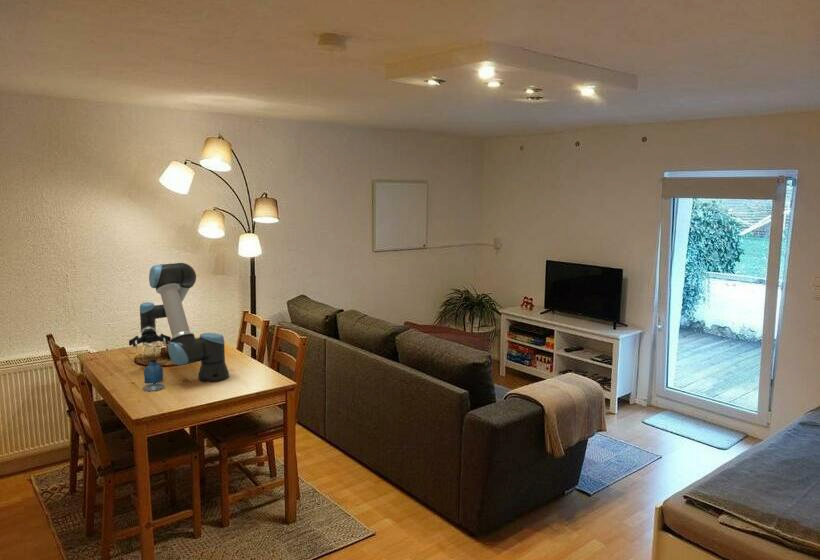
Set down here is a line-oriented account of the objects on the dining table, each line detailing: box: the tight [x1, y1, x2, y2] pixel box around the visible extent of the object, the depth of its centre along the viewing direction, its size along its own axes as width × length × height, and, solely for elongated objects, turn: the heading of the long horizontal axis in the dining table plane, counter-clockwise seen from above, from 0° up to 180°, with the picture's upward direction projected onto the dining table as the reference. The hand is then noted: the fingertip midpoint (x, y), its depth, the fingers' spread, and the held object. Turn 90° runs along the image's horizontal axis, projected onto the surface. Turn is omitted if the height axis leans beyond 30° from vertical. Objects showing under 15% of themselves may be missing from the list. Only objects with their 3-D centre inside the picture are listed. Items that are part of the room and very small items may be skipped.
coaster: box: [141, 383, 165, 393], centre depth 288 cm, size 10×10×1 cm
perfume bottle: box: [143, 357, 164, 384], centre depth 297 cm, size 6×6×12 cm
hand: (150, 345), depth 304 cm, fingers open, 13 cm apart
